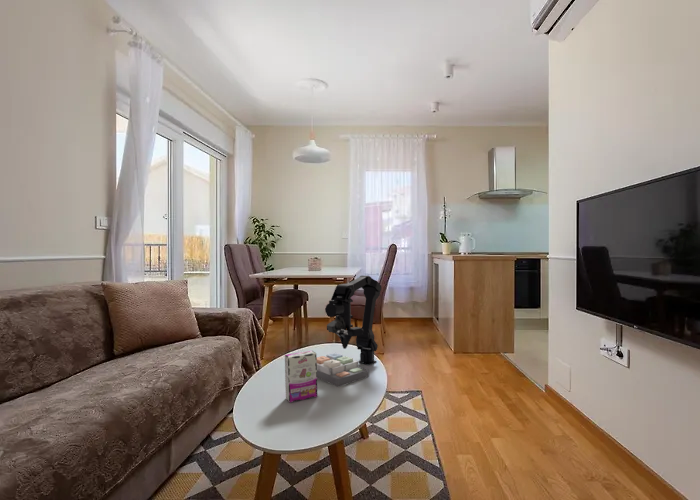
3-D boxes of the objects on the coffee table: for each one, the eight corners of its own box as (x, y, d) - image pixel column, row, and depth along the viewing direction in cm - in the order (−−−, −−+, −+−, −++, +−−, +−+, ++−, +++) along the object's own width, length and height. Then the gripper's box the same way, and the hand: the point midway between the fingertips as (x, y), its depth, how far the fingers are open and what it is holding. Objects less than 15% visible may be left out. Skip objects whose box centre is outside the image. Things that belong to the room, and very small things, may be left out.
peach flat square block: (323, 360, 167) (323, 355, 167) (330, 362, 163) (330, 358, 163) (313, 362, 164) (313, 357, 164) (320, 365, 160) (320, 360, 160)
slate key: (335, 357, 172) (335, 352, 172) (342, 359, 168) (342, 354, 168) (326, 359, 168) (326, 354, 168) (333, 361, 164) (333, 357, 164)
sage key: (345, 360, 166) (345, 355, 166) (353, 363, 163) (353, 358, 163) (336, 362, 163) (336, 358, 163) (344, 365, 159) (344, 360, 159)
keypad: (336, 365, 175) (336, 353, 175) (368, 376, 159) (368, 364, 159) (306, 373, 164) (306, 361, 164) (338, 386, 147) (338, 373, 147)
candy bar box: (312, 392, 142) (312, 350, 142) (317, 397, 137) (317, 353, 137) (284, 398, 136) (284, 354, 136) (288, 403, 132) (288, 357, 132)
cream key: (333, 363, 162) (332, 359, 162) (340, 366, 158) (340, 361, 158) (323, 366, 158) (323, 361, 158) (331, 369, 154) (331, 364, 154)
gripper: (317, 313, 164) (317, 347, 165) (344, 318, 151) (344, 356, 151) (336, 310, 172) (336, 343, 172) (363, 315, 158) (364, 351, 158)
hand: (344, 348), depth 163 cm, fingers closed
